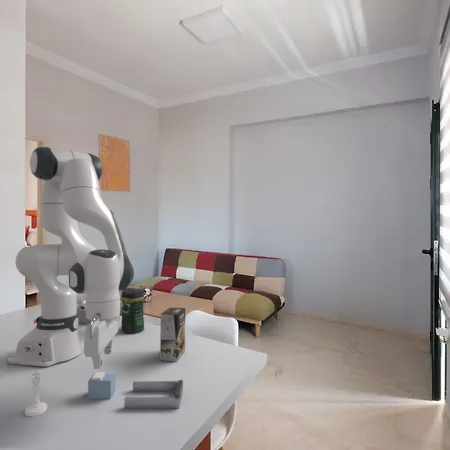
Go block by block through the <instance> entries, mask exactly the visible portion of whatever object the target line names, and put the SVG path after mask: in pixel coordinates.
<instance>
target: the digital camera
mask: <svg viewBox="0 0 450 450" xmlns="http://www.w3.org/2000/svg"><path fill="white" fill-rule="evenodd" d="M77 312H78V323H82V322H83V323H82V324H86V323H88V324H89V323H90V322H91V320H89V319H87V318H86V302H84V303H82V304H78V303H77ZM88 324H87V325H88Z"/></svg>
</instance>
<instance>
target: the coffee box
mask: <svg viewBox="0 0 450 450" xmlns="http://www.w3.org/2000/svg"><path fill="white" fill-rule="evenodd" d="M159 337H160V338H159V339H160V340H159V341H160V347H159V348H160V349H159V357H160V358H159V359H160V361H166V362H175V363H176V362H178V361H179V359H180V358H181V357H182V356H183V354H185V352H186V308H185V307H168V308H167V309H166V310H164V311H163V312H161V313H160V336H159Z"/></svg>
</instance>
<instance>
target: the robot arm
mask: <svg viewBox="0 0 450 450" xmlns="http://www.w3.org/2000/svg"><path fill="white" fill-rule="evenodd" d="M29 157H30V158H29V167H30V172H31V174H32V175H33V176H34V177H35V178H37V179H39V180H42V181H43V185H42V191H41V198H40V199H41V201H40V202H41V203H40V204H41V208H40V209H41V211H40V212H41V213H40V214H41V215H40V216H41V217H40V218H41V220H40V221H41V222H40V223H41V224H40V225H41V227H42V228H43V229H44V230H45V231H46V232H47V233H50V234H51V235H55V236H57V237H59V238H60V239H61V243H59V244H57V243H55V244H36V245H35V244H34V245H30V246H29V245H28V246H24V247H22V248H21V249H20V250H19V251H18V252H17V254H16V257H15V267H16V270H17V271H18V272H19V273H20V274H21V275H22V276H23V277H25V278H27V279H29V280H30V281H31V282H32V283H33V284H34V286H35V287H36V289H37V291H38V293H39V296H40V298H39V299H40V300H39V301H40V312H41V315H40V316H38V317H36V319H34V320H33V323H32V324H36V326H35V327H34V328H33V329H32V330H30V331H29V332H27V333H26V334H25V335H23V337H21V338H20V340H19V341H18V343H17V344H16V345H17V346H16V349H15V352H13V353H12V354H11V355H9V357H8V359H7V364H14V365H15V364H16V365H23V366H34V367H44V368H45V367H50V366H52V365H55V364H57V363H62V362H66V361H70V360H72V359H74V358H76V357H77V356H79V355H80V354H82V351H83V355H84V356H85V358H91V360H92V363H93V368H92V369H93V370H94V369H95V370H100V369H101V367H102V366H103V359H102V353H104V355H110V354H111V353H112V352H113V342H114V338H115V336H116V335H117V333H118V332H119V328H120V318H121V311H122V300H121V295H120V291H123V290H125V289H126V288H129V286H130V285H131V284H132V283H133V281H134V278H135V271H134V266H133V265H132V262H131V260H130V259H129V257H128V253H127V250H126V246H125V243H124V240H123V238H122V237H123V236H122V233H121V231H120V228H119V223H118V221H117V219H116V216H115V213H114V212H113V210H111V209H109V208H108V207H107V206H106V203H105V202H104V200H103V198H102V194H101V188H100V187H101V186H100V183H99V180H100V179H101V177H102V174H103V163H102V161H101V158H100V157H98V156H96V155H94V154H92V153H89V152H88V153H85V152H81V151H78V150H73V149H64V148H52V147H48V146H39V147H36V148H34V149H33V151H32V152H31V155H30V156H29ZM78 223H81V224H83V225H87V226H90V227H92V228H94V229H96V230H98V231H99V232H100V233H101V234H102V235H103V237H104V241H105V243H106V247H107V249H96V247H95V246H93V245H92V244H91V243H89V242H88V241H87V240H86V239H85V238H84V236H83V235H82V233H81V231H80V229H79V225H78ZM59 276H68V284H65V283H62V282H60V281H59V280H58V278H57V277H59ZM77 294H79V295H80V294H81V295H86V297H85V303H86V318H87V319H89V320H91V322H90V323H89V324H87V325H86V327H85V331H84V341H83V350H82V346H81V343H80V339H79V338H80V337H79V333H78V328H79V322H78V312H77V304H78V303H77V302H78V301H77V300H78V297H77V296H78V295H77Z"/></svg>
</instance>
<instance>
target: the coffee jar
mask: <svg viewBox="0 0 450 450" xmlns="http://www.w3.org/2000/svg"><path fill="white" fill-rule="evenodd" d="M120 300H121V302H122V308H121V323H120V324H121V327H120V329H121V332H123V333H126V334H128V335H129V334H131V335H133V334H139V333H142V332H143V331H144V330H145V318H144V300H145V291H144V290H143V289H141V288H135V287H127V288H126V289H125V290H121V295H120Z"/></svg>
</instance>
